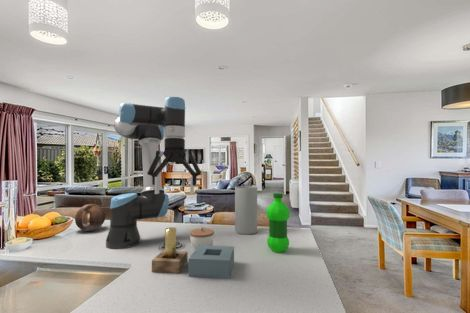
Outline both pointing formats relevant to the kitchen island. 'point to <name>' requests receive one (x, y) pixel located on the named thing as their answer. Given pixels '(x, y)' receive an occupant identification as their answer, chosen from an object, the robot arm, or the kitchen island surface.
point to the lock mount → (170, 262)
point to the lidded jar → (201, 237)
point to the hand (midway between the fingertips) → (174, 194)
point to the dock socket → (211, 261)
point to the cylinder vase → (246, 209)
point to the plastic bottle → (278, 224)
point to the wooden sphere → (90, 217)
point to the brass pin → (170, 243)
